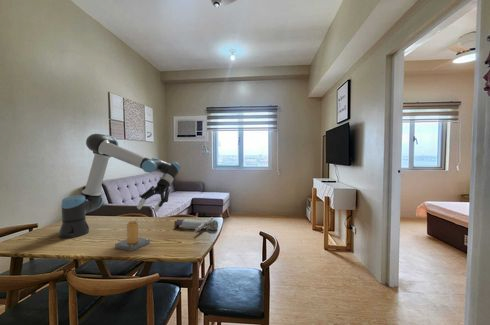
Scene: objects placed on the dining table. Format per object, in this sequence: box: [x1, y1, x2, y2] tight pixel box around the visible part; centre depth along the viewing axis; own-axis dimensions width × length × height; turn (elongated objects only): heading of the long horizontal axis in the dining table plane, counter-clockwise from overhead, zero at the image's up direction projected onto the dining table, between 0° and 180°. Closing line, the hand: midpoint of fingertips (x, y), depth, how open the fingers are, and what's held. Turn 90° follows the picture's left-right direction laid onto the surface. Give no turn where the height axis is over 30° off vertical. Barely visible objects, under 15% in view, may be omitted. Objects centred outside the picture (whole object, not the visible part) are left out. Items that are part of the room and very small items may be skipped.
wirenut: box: [126, 220, 139, 243], centre depth 122 cm, size 5×5×11 cm
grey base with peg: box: [114, 236, 151, 252], centre depth 122 cm, size 12×12×9 cm
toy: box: [173, 216, 219, 233], centre depth 150 cm, size 30×7×30 cm
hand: (146, 209), depth 133 cm, fingers open, 13 cm apart
